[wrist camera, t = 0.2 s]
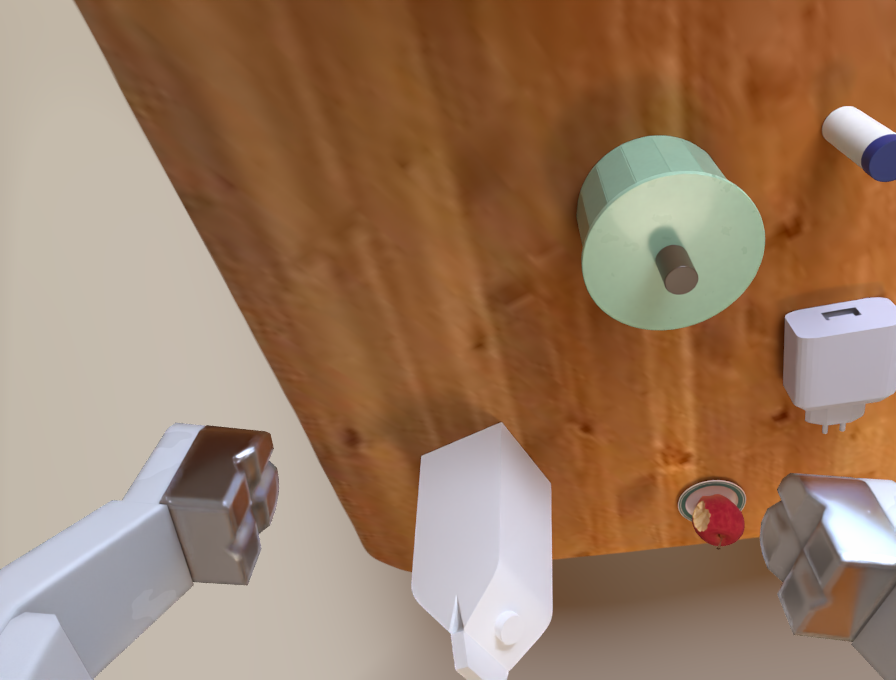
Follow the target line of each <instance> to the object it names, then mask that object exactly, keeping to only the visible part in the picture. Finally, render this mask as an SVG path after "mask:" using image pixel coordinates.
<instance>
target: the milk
mask: <svg viewBox="0 0 896 680" xmlns="http://www.w3.org/2000/svg"><path fill="white" fill-rule="evenodd" d="M411 587H412V593H413V596H414V597H415V599H416V600H417V602H418V603H419V604H420V605H421V606H422V607H423V608H424V609H425V610H426V611H427V612H428V613H430V615H432V616H433V617H434V618H435V619H436V620H437V621H438V622H439V623H440V624H441V625H442V626H443V627H444V628H445V629H447V631H449V632H450V634H451V641H452V648H453V656H454V663H455V670H456V671H457V672H458V673H459V674H461V675H462V676H463V677H464V678H465V679H467V680H507V676H508V671H509V670H511V669H512V668H513V667H514V665H515V664H516V663H517V662H518V661H519V660H520V659H521V657H522V656H523V655H524V654H525V653H526V652H527V651H528V650H529V649H530V647H531V646H532V645H533V644H534V643H535V642H536V641H537V640H538V638H539V637H540V636H541V635H542V634H543V632H544V631H545V630H546V628H547V627H548V625H549V623H550V621H551V618H552V611H553V608H552V521H551V483H550V482H549V480H548V479H547V478H546V477H545V475H544V474H543V473H542V472H541V470H540V469H539V468H538V467H537V465H536V464H535V463H534V462H533V460H532V459H531V458H530V457H529V455H528V454H527V453H526V452H525V450H524V449H523V448H522V447H521V445H520V444H519V443H518V442H517V440H516V439H515V438H514V437H513V435H512V434H511V433H510V432H509V430H508V429H507V428H506V427H505V425H504V424H503V423H502V422H500V423H498V424H495V425H493V426H491V427H488V428H486V429H484V430H481V431H479V432H477V433H474V434H472V435H470V436H467V437H465V438H462V439H460V440H458V441H455V442H453V443H451V444H448V445H446V446H444V447H441V448H439V449H437V450H434V451H432V452H430V453H427V454H425V455H422V456H421V466H420V479H419V492H418V505H417V518H416V530H415V543H414V556H413V569H412V582H411Z"/></svg>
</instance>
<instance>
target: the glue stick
mask: <svg viewBox="0 0 896 680" xmlns="http://www.w3.org/2000/svg"><path fill="white" fill-rule="evenodd" d="M822 134H823V136H824V138H825V139H826V140H827V141H828V142H829V143H831V144H832V145H833V146H834V147H836V148H837V149H838V150H839V151H841V152H842V153H843V154H844V155H846V156H847V157H848V158H850V159H851V160H852V161H853V162H855V163H856V164H857V165H858V166H860V167H861V168H862V169H863V170H864V171H865V172H866V173H867V174H868V175H870V176H871V177H872V178H873V179H875V180H877V181H881V182H889V181H893V180H896V133H895V132H893V131H891V130H890V129H888V128H887V127H885V126H884V125H882V124H880V123H879V122H877V121H876V120H874V119H872V118H871V117H869V116H868V115H866V114H865V113H863V112H861V111H860V110H858V109H857V108H855V107H851V106H845V107H841V108H838V109H836V110H835V111H833V112H832V113H831V114H830V115H829V116H828V117H827V118H826V120H825V121H824V123H823V127H822Z"/></svg>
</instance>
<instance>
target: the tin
mask: <svg viewBox="0 0 896 680" xmlns="http://www.w3.org/2000/svg"><path fill="white" fill-rule="evenodd" d="M674 171H699V172H706V173H710V174H713V175H717V176H719V177H722V178H724V179H726V178H725V176H724V175H723V174H722V172H721V171H720V170H719V168H718V167H717V166H716V164H715V163H714V162H713V160H712V159H711V158H710V156H709V155H708V154H707V152H705V151H704V150H702V149H701V148H699V147H698V146H696V145H694V144H693V143H691V142H689V141H686V140H684V139H681V138H677V137H672V136H647V137H642V138H638V139H634V140H632V141H629V142H627V143H624V144H622V145H620V146H619V147H617V148H615V149H614V150H612V151H611V152H609V153H608V154H606V155H605V156H604V157H603V158H602V159H601V160H600V161H599V162H598V163H597V164H596V165H595V166H594V167H593V169H592V170H591V171H590V173H589V174H588V176H587V177H586V179H585V181H584V183H583V185H582V188H581V191H580V194H579V198H578V204H577V214H576V217H577V222H578V227H579V231H580V236H581V241H582V246H583V245H584V241H585V238H586V235H587V233H588V230H589V228H590V226H591V225H592V223H593V221H594V219H595V218H596V217H597V215H598V214H599V213H600V211H601V210H602V209H603V208H604V207H605V206H606V205H607V204H608V203H609V201H610V200H612V199H613V198H614V197H615V196H617V195H618V194H619V193H620V192H622V191H623V190H625V189H626V188H628V187H629V186H631V185H633V184H635V183H637V182H639V181H641V180H643V179H646V178H649V177H652V176H654V175H658V174H662V173H667V172H674ZM726 180H727V179H726Z"/></svg>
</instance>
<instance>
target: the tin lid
mask: <svg viewBox="0 0 896 680" xmlns="http://www.w3.org/2000/svg"><path fill="white" fill-rule="evenodd" d="M764 247H765V231H764V226H763V221H762V219H761V216H760V213H759V211H758V210H757V208H756V206H755V204H754V203H753V202H752V200H751V199H750V198H749V197H748V196H747V194H746V193H745V192H744V191H742V190H741V189H740V188H739V187H738V186H736V185H735V184H733V183H732V182H730V181H728V180H726V179H724V178H722V177H719V176H717V175H713V174H710V173H706V172H699V171H674V172H667V173H662V174H658V175H654V176H652V177H649V178H646V179H643V180H641V181H639V182H637V183H635V184H633V185H631V186H629V187H628V188H626V189H625V190H623V191H622V192H620V193H619V194H618V195H617V196H615V197H614V198H613V199H612V200H610V201H609V203H608V204H607V205H606V206H605V207H604V208H603V209H602V210H601V211H600V213H599V214H598V215H597V217H596V218H595V219H594V221H593V223H592V225H591V226H590V228H589V230H588V233H587V235H586V238H585V241H584V245H583V249H582V258H581V263H582V273H583V278H584V282H585V285H586V287H587V290H588V292H589V294H590V295H591V297H592V299H593V300H594V301H595V303H596V304H597V305H598V306H599V307H600V308H601V309H602V310H603V311H604V312H605V313H606V314H608V315H609V316H611V317H612V318H614V319H616V320H617V321H619V322H621V323H624V324H626V325H629V326H632V327H636V328H640V329H647V330H672V329H678V328H683V327H687V326H691V325H694V324H697V323H699V322H702V321H704V320H707V319H709V318H711V317H713V316H714V315H716V314H718V313H719V312H721V311H722V310H724V309H726V308H727V307H728V306H729V305H731V304H732V303H733V302H734V301H735V300H736V299H737V298H738V297H739V296H740V295H741V294H742V293H743V292H744V291H745V290H746V288H747V287H748V286H749V285H750V283H751V282H752V280H753V278H754V277H755V275H756V273H757V271H758V269H759V266H760V264H761V261H762V257H763V254H764Z"/></svg>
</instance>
